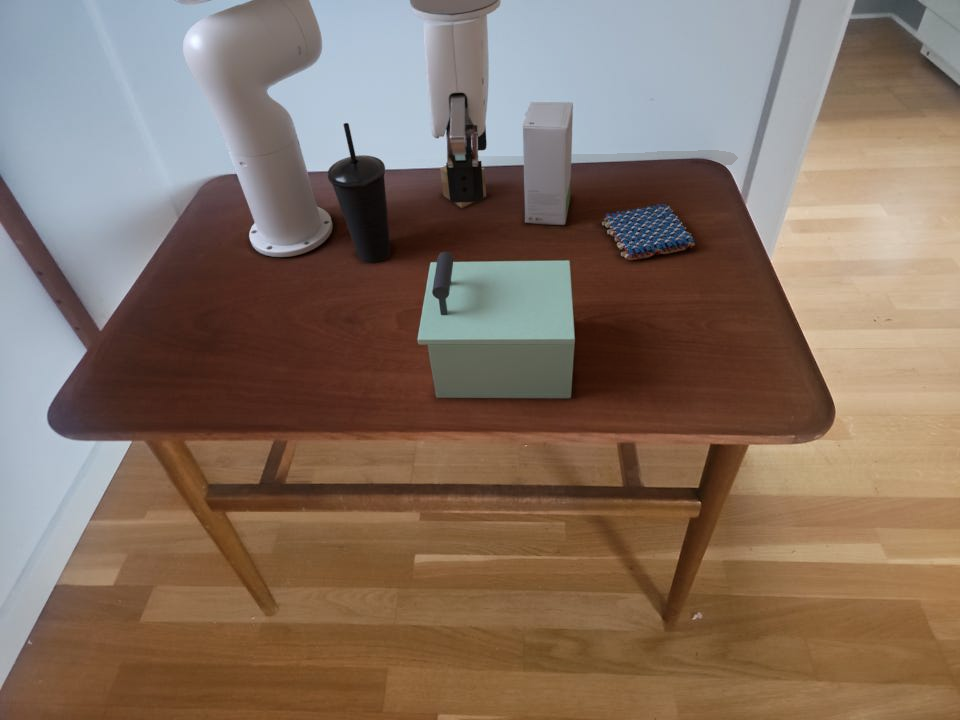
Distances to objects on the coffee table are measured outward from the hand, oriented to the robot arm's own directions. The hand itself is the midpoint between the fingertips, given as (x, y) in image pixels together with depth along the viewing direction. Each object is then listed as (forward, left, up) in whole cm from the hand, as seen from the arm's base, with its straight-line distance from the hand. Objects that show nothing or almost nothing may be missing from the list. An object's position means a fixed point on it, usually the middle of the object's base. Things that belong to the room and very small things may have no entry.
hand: (469, 173), depth 65 cm
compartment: (+5, 0, -23) cm, 24 cm away
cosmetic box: (-15, +25, -23) cm, 37 cm away
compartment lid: (+4, 0, -14) cm, 15 cm away
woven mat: (0, +31, -23) cm, 39 cm away
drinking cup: (-24, -1, -23) cm, 34 cm away
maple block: (-27, +18, -23) cm, 40 cm away
